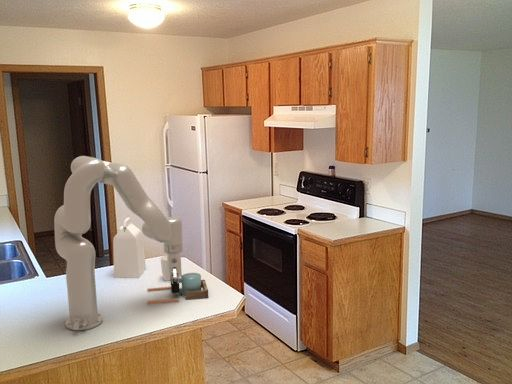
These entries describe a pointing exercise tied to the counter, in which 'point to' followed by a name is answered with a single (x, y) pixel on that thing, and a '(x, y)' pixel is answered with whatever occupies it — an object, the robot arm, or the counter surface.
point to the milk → (128, 252)
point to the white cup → (165, 268)
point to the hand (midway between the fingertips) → (175, 288)
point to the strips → (162, 299)
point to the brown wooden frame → (198, 292)
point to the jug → (190, 282)
